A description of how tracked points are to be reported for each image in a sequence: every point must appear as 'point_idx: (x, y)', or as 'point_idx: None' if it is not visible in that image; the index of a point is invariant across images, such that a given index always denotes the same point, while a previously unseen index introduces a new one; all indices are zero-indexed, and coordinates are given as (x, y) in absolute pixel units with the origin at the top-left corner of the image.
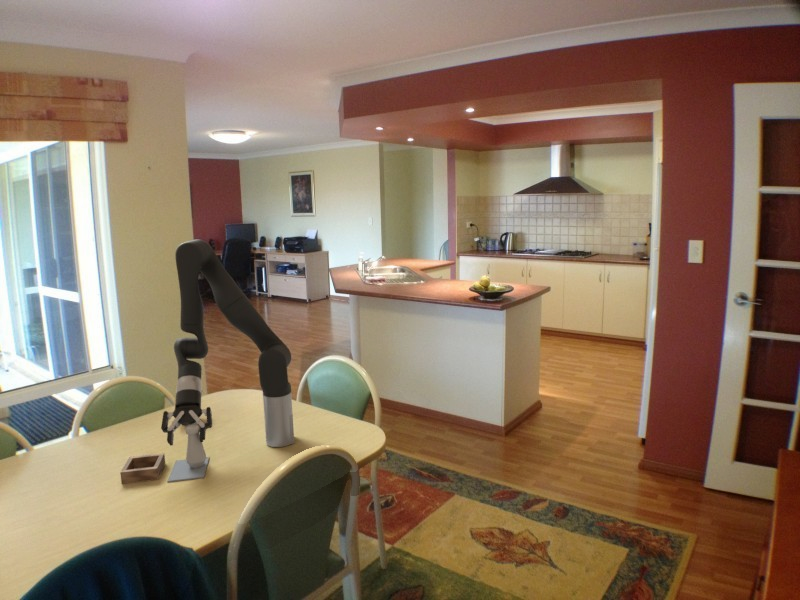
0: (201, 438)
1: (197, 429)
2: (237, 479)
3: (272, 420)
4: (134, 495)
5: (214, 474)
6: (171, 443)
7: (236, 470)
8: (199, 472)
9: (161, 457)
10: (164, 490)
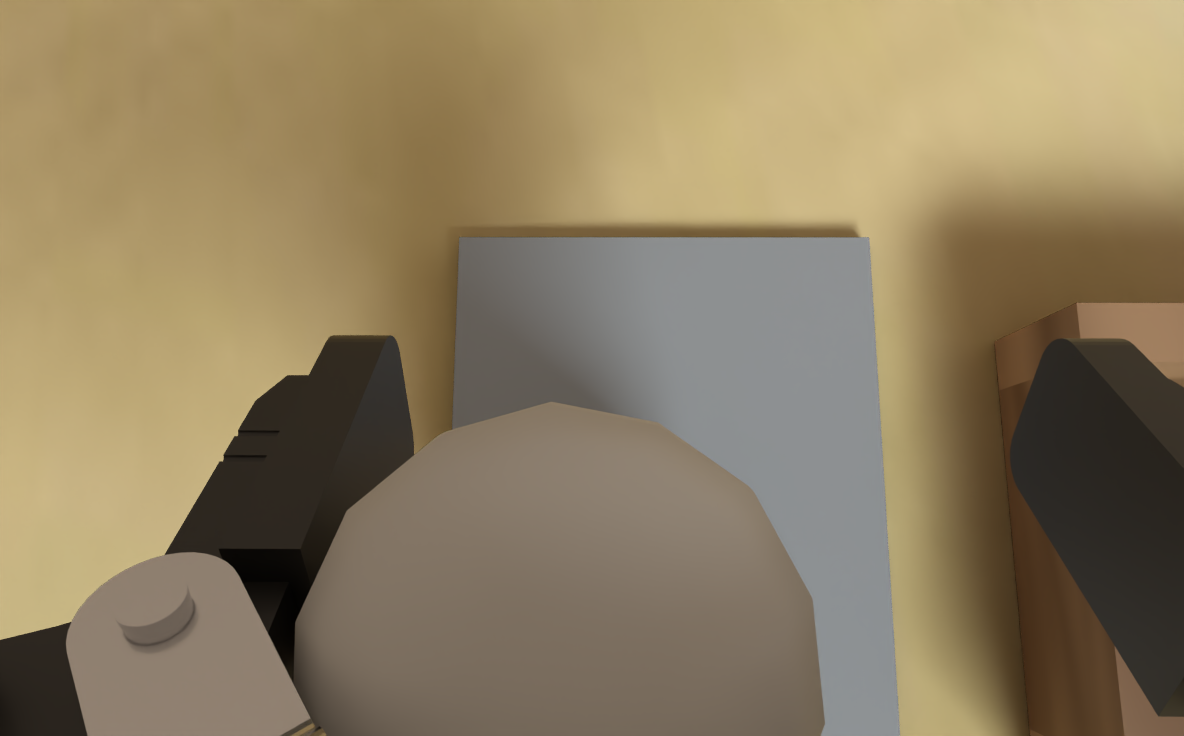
0: (334, 338)
1: (378, 489)
2: (91, 122)
3: None
4: (1147, 47)
5: (346, 301)
6: (1049, 352)
7: (91, 336)
8: (521, 357)
9: (1130, 675)
10: (852, 75)
